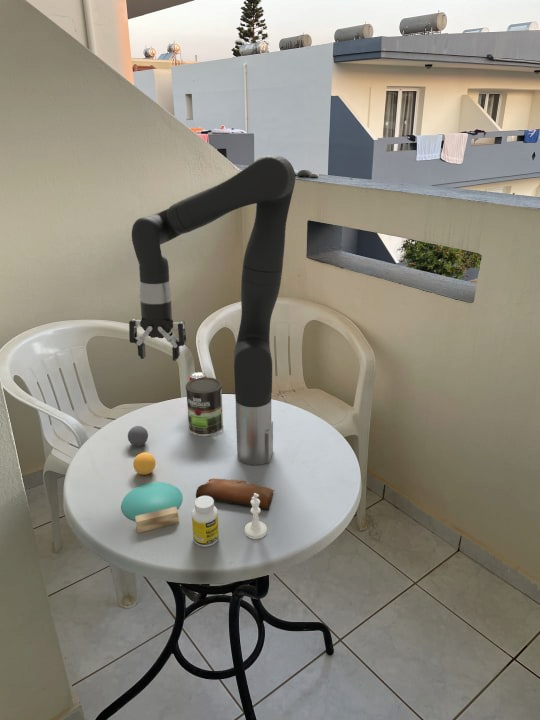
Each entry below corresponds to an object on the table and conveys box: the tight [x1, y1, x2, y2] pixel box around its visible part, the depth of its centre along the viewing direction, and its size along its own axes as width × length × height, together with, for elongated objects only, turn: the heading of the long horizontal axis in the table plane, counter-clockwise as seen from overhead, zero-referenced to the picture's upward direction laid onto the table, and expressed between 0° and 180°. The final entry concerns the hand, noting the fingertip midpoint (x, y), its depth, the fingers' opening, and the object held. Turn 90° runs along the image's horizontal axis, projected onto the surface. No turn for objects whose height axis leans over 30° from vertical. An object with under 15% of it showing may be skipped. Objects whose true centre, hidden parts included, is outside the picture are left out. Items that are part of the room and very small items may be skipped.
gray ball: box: [127, 425, 149, 447], centre depth 140 cm, size 6×6×6 cm
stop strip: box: [135, 507, 180, 534], centre depth 111 cm, size 9×2×3 cm, turn 110°
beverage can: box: [189, 371, 207, 381], centre depth 157 cm, size 5×5×12 cm
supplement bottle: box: [191, 496, 220, 548], centre depth 106 cm, size 5×5×10 cm
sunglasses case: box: [195, 477, 275, 511], centre depth 121 cm, size 18×7×7 cm, turn 77°
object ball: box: [132, 452, 156, 476], centre depth 128 cm, size 6×6×6 cm
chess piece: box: [244, 493, 268, 540], centre depth 108 cm, size 5×5×10 cm
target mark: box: [121, 481, 183, 522], centre depth 119 cm, size 14×14×1 cm
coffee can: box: [185, 376, 224, 437], centre depth 147 cm, size 10×10×14 cm
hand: (159, 358), depth 132 cm, fingers open, 8 cm apart
